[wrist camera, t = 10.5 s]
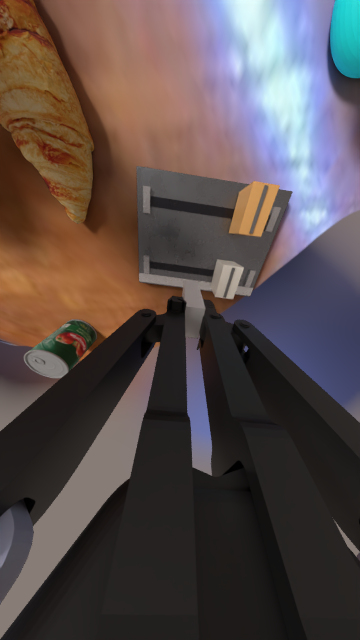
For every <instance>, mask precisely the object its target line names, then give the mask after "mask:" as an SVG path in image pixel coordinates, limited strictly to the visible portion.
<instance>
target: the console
mask: <svg viewBox="0 0 360 640" xmlns="http://www.w3.org/2000/svg"><path fill="white" fill-rule="evenodd" d="M248 185H249V184H243V183H237V182H231V181H225V180H219V179H213V178H207V177H201V176H195V175H189V174H183V173H177V172H170V171H164V170H158V169H152V168H146V167H140V166H137V205H138V245H139V282H142V283H150V284H157V285H165V286H172V287H180V288H183V284H184V279H186V280H194V281H198V284H199V287H200V290H203V291H211V292H212V289H211V287H210V286H211V282H212V278H213V274H214V270H215V266H216V262H217V259H219V260H226V261H233V262H235V263H237V264H239V265H240V266H242V267H244V269H243V272H242V275H241V278H240V281H239V284H238V287H237V289H236V292H235V295H241V296H250V295H251V293H252V290H253V287H254V285H255V282H256V280H257V277H258V275H259V273H260V270H261V268H262V265H263V263H264V260H265V258H266V255H267V253H268V251H269V248H270V246H271V243H272V241H273V238H274V236H275V234H276V231H277V229H278V226H279V224H280V221H281V219H282V216H283V214H284V212H285V209H286V207H287V204H288V202H289V199H290V197H291V194H292V191H286V190H280V189H278V192H277V195H276V197H275V200H274V203H273V206H272V208H271V211H270V214H269V216H268V219H267V222H266V225H265V227H264V230H263V233H262V235H261V237H256V236H244V235H237V234H231V233H229V230H230V226H231V222H232V218H233V214H234V210H235V207H236V203H237V199H238V195H239V192H240V191H241V190H243V189H244V188H245V187H247V186H248Z"/></svg>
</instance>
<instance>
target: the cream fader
mask: <svg viewBox="0 0 360 640" xmlns="http://www.w3.org/2000/svg"><path fill="white" fill-rule="evenodd" d="M243 269H244V267H242V266H240V265H239V264H237V263H235V262H233V261H226V260H219V259H217V262H216V266H215V270H214V274H213V278H212V282H211V286H210V287H211V289H212V292H213V294H214V296H215V297H219V298H227V299H233V298H234V295H235V292H236V289H237V287H238V284H239V281H240V278H241V275H242V272H243Z"/></svg>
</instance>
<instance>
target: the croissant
mask: <svg viewBox="0 0 360 640" xmlns="http://www.w3.org/2000/svg"><path fill="white" fill-rule="evenodd" d="M0 124H1V125H2V126H3V127H4V128H5V129H6V130H8V131H9V132H11V133H12V138H13V140H14V142H15V144H16V146H17V147H18V148H19V149H20V151H21V152H22V154H23V156H24V157H25V158H26V160H28V161H29V162H31V163H32V164H33V165H34V167H35V168H36V169H38V171H39V173H40V174H41V176H42V177H43V179H44V181H45V182H46V184H47V186H48V188H49V190H50V192H51V194H52V195H53V196H54V197H56V199H57V200H58V201H59V202H60V203H61V204H62V205H64V206H65V211H66V213H67V215H68V216H69V217H70V218H71V219H72V220H73V221H74V222H76V223H77V224H79V223H83V222H84V220H85V219H86V215H87V209H88V205H89V202H90V200H91V189H92V181H93V169H92V154H91V151H93V150H94V143H93V140H92V137H91V134H90V132H89V129H88V126H87V123H86V120H85V118H84V115H83V113H82V109H81V106H80V103H79V100H78V97H77V94H76V92H75V90H74V88H73V85H72V83H71V81H70V78H69V76H68V74H67V72H66V70H65V68H64V66H63V64H62V61H61V59H60V57H59V55H58V52H57V50H56V47H55V45H54V43H53V41H52V38H51V36H50V34H49V32H48V30H47V28H46V26H45V24H44V23H43V21H42V19H41V17H40V15H39V14H38V12H37V8H36V6H35V3H34V1H33V0H0Z"/></svg>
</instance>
